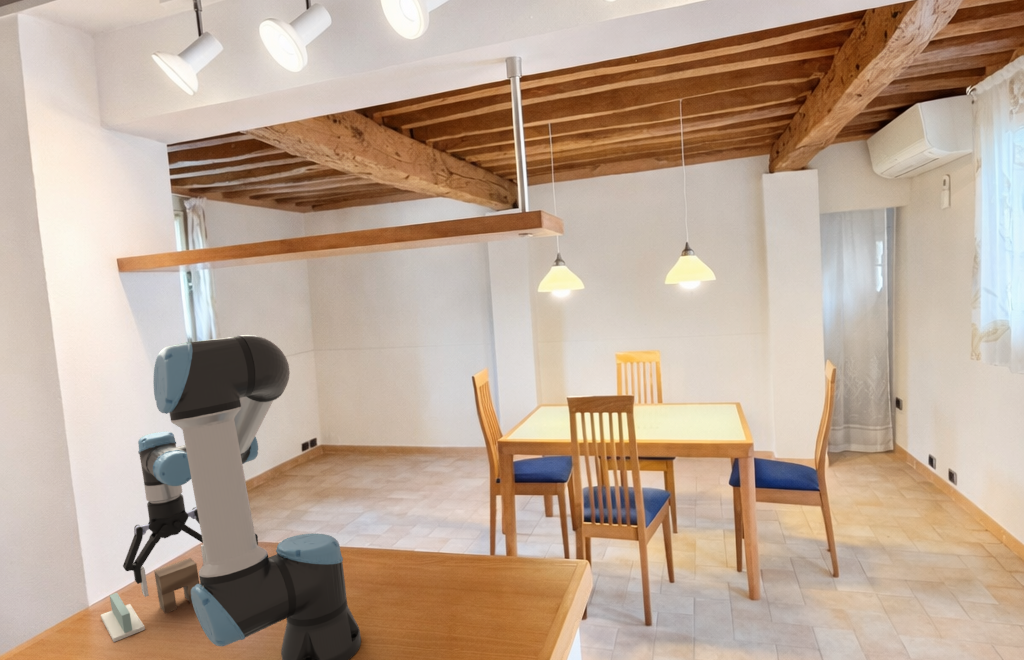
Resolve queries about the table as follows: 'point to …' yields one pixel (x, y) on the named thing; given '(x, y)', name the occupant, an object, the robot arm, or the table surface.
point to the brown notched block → (175, 582)
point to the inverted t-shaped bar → (121, 619)
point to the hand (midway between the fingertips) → (177, 582)
